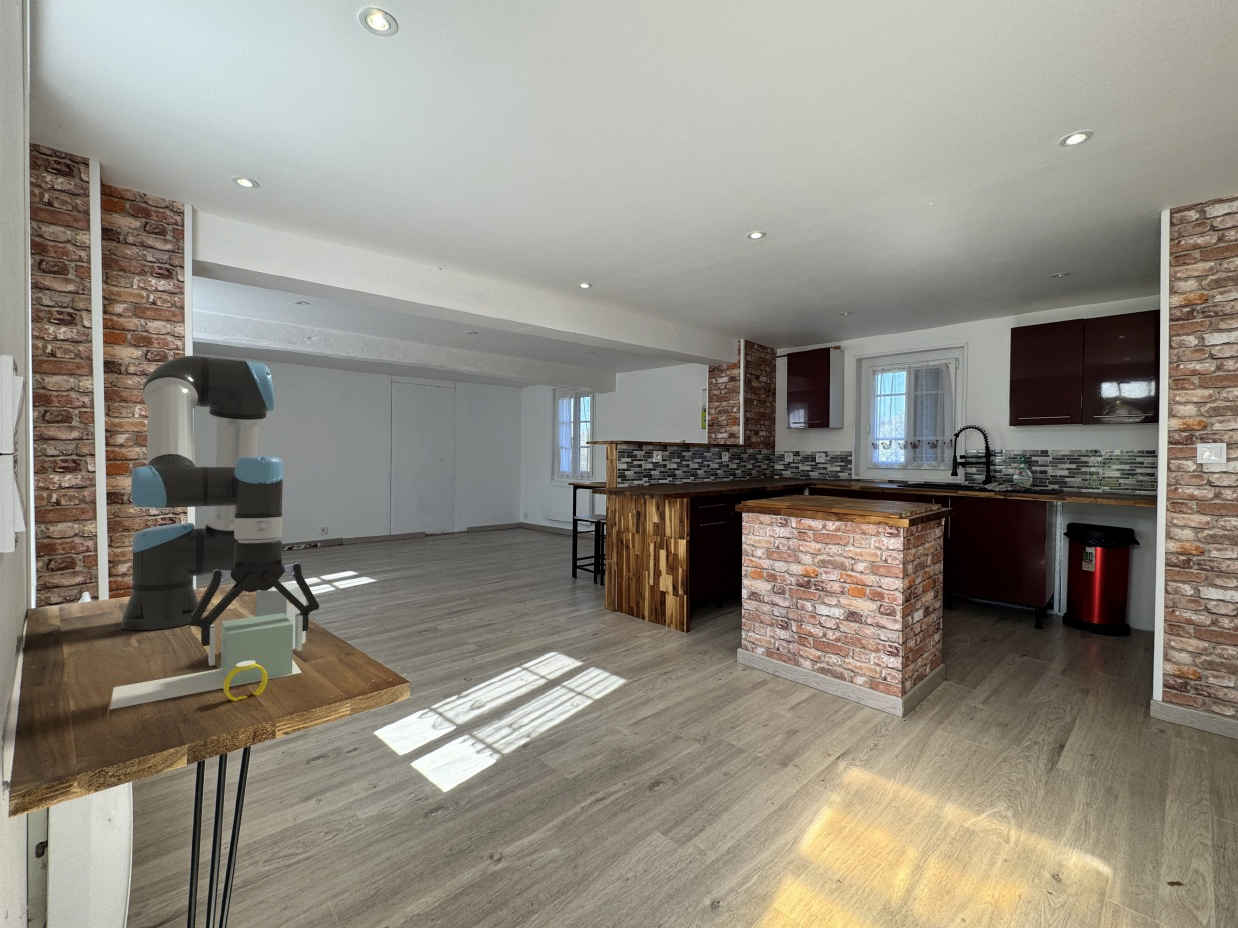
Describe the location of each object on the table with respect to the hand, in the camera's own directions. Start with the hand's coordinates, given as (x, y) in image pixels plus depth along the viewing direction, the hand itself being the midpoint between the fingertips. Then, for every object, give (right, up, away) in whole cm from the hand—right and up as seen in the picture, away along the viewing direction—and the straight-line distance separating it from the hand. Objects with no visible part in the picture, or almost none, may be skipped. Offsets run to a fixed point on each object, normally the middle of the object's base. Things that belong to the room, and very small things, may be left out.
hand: (256, 655), depth 106 cm
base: (-5, -3, -4) cm, 8 cm away
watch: (+5, -4, -11) cm, 13 cm away
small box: (-4, -4, +14) cm, 15 cm away
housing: (0, -3, 0) cm, 3 cm away
